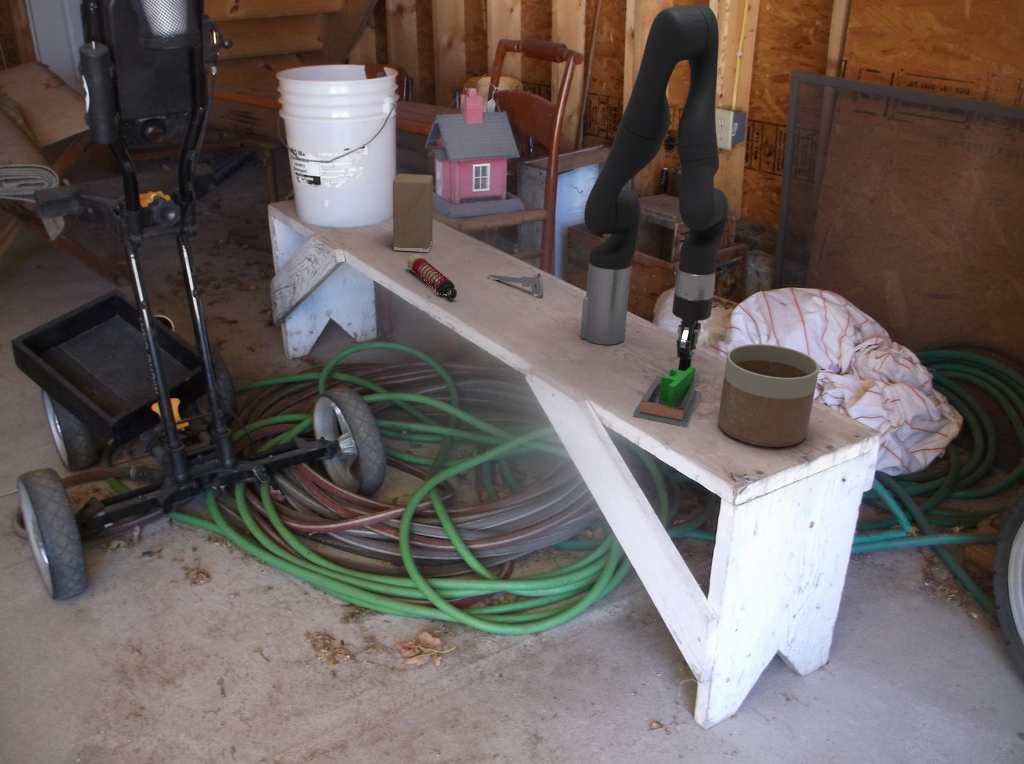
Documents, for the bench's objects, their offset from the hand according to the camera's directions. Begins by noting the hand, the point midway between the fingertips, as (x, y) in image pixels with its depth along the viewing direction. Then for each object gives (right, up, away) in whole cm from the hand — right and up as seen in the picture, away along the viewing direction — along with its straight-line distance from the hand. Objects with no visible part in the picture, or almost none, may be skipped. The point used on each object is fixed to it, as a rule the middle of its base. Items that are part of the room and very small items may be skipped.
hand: (683, 373), depth 192 cm
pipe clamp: (-3, -5, -8) cm, 10 cm away
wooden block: (-63, +37, +80) cm, 108 cm away
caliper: (-34, +22, +51) cm, 65 cm away
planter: (+11, -11, -18) cm, 24 cm away
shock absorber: (-55, +23, +51) cm, 78 cm away
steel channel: (-5, -6, -11) cm, 13 cm away
